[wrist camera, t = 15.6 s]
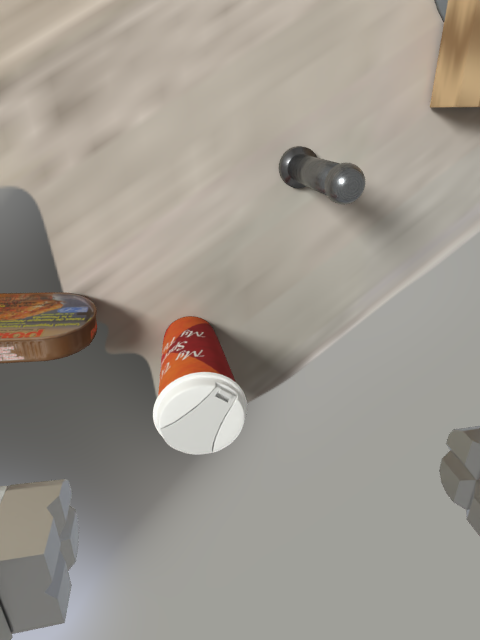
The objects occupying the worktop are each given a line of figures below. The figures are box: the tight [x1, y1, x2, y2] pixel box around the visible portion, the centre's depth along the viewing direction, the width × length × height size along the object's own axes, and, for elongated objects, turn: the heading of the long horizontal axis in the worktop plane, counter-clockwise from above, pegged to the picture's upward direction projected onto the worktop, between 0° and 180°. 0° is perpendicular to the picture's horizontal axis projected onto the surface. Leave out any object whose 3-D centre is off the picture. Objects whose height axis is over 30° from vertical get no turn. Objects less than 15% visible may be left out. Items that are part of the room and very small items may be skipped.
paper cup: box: [153, 316, 247, 454], centre depth 39 cm, size 8×8×14 cm
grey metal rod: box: [279, 146, 365, 204], centre depth 34 cm, size 4×4×13 cm
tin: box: [0, 293, 97, 363], centre depth 37 cm, size 15×3×8 cm, turn 87°
